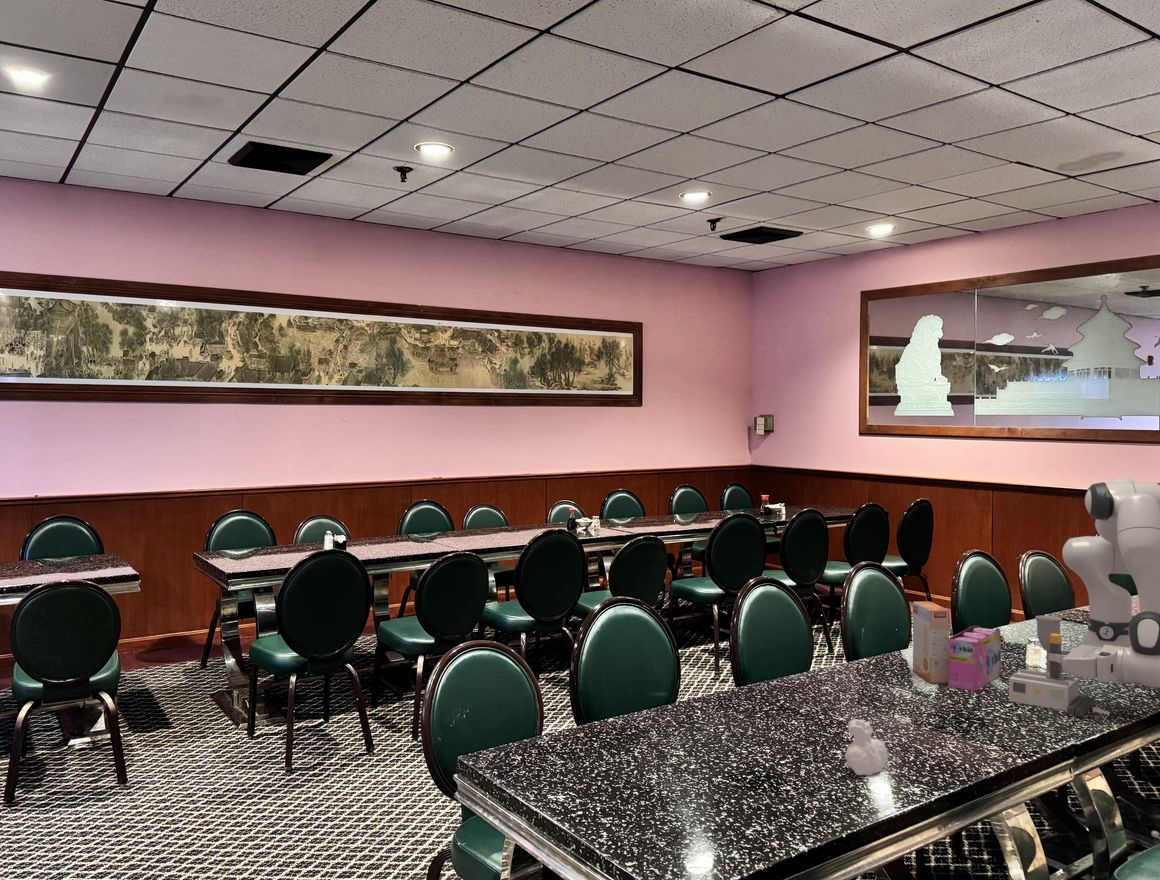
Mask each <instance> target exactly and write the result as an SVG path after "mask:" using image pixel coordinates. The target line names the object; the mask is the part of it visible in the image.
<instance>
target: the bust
mask: <svg viewBox="0 0 1160 880" xmlns="http://www.w3.org/2000/svg"><path fill="white" fill-rule="evenodd" d="M871 726H872V725H871V721H870V720H869V721H864V720H863V719H856V718H852V719H851V720H850V721H848V723H847V730H848V732H849V735H850V737H853V736H854V739H853V740H852V742H851V744H849V746H848V747H847V749H846V750H845V754H844V757H845V760H846V763H847V766H848V767H849V768H850V769H852V770H853V772H854V773H855V775H856V776H868V777H871V776H872V775H874V774H877V773H881V772H882V771H883V768H884V767H885V766H886V765H887V763H888V759H889V758H888V757H889V754H888V751H887V747H886V745H885V743H884V742H883V741H882V740H880V739H876V738H871V736H872V733H874V729H873V727H871Z"/></svg>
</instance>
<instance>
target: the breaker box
mask: <svg viewBox="0 0 1160 880" xmlns="http://www.w3.org/2000/svg"><path fill="white" fill-rule="evenodd" d="M1045 672H1046V671H1038V670H1032V669H1024V668H1020V669H1019V670H1018V671H1017V672H1016V673H1012V676H1010V677H1009V678H1008V702H1010V703H1011V702H1012V703H1018V704H1024V705H1028V704H1029V705H1030V706H1034V705H1035V706H1034V707H1040V706H1041V707H1040V708H1046V709H1051V708H1052V710H1056V711H1057V710H1058V711H1064V712H1067V707H1068V706H1069V705H1070V704H1071V703H1072V702H1074V701H1075V700H1076V699H1077V698H1078V697H1079V678H1077V677H1076V678H1075V676H1071V675H1070V676H1069V675H1064V674H1063V675H1064V676H1065V680H1064V681H1061V680H1054V679H1048V678H1046V676H1047V675H1049V674H1050V673H1045Z"/></svg>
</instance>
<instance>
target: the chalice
mask: <svg viewBox="0 0 1160 880" xmlns="http://www.w3.org/2000/svg"><path fill="white" fill-rule="evenodd" d="M1035 620H1036V635H1037V639H1038V641H1039V644H1040V645H1041V647H1042V649H1043V650H1045V651H1046V656H1045V659H1046V663H1045V666H1046V670H1045V671H1044V672H1045V673H1050V660H1049V659H1048V655H1049V654H1050V635H1051V634H1052V633H1055V634H1061V622H1062V621H1063V618H1062V617H1060V616H1055V615H1036V616H1035Z"/></svg>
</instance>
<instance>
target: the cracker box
mask: <svg viewBox="0 0 1160 880" xmlns="http://www.w3.org/2000/svg"><path fill="white" fill-rule="evenodd" d="M912 606H913V607H912V616H913V617H912V618H913V619H912V672H913V673H915V674H917V675H918V676H919V677H921V678H922V679H924V680H925V681H926V682H927V683H929V684H945V685H946V684H948V638H950V631H951V630H950V628H951V627H950V625H951V624H950V622H951V620H950V619H951V618H950V616H951V615H950V614H951V612H950V611H951V610H949V609H947V608H946V607H944V606H941V605H939V604H936V603H934V602H933V601H913V602H912Z"/></svg>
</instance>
